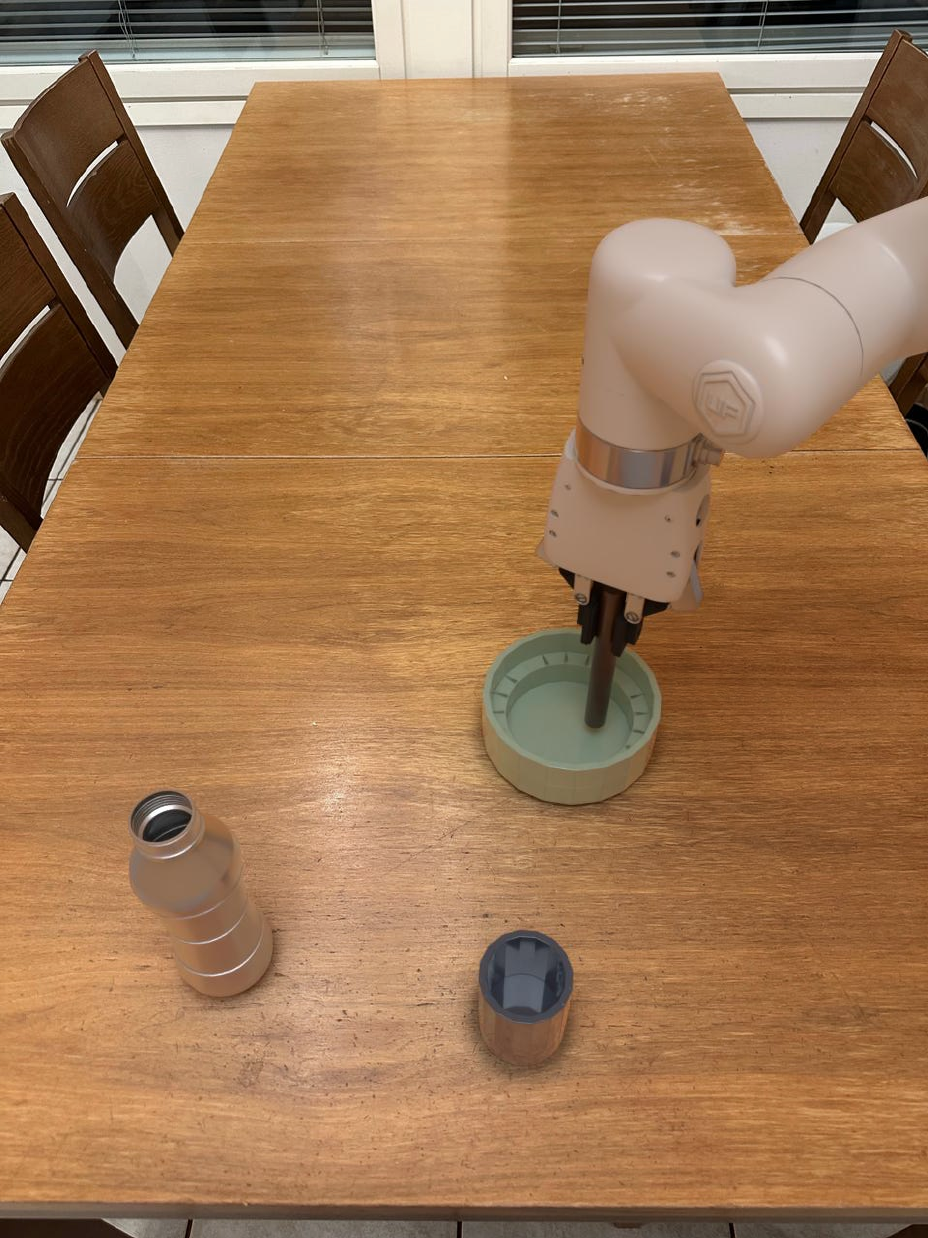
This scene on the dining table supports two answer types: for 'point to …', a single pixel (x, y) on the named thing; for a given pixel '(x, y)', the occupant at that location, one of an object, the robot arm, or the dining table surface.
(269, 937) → the plastic bottle
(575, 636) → the bowl
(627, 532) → the robot arm
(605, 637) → the stirring stick
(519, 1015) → the utensil pot
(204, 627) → the dining table surface
